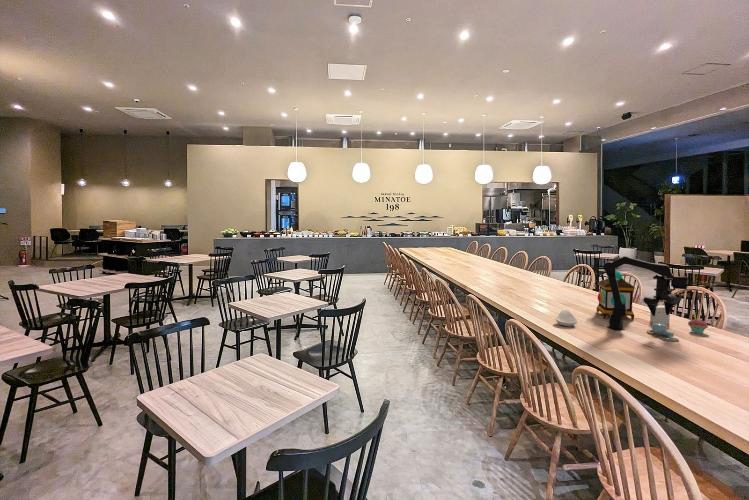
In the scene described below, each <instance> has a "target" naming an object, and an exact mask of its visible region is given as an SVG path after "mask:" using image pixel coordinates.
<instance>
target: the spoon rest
mask: <svg viewBox="0 0 749 500" xmlns="http://www.w3.org/2000/svg"><path fill="white" fill-rule="evenodd" d="M555 321H556V323H557V324H559V325H561V326H562V325H563V327H573V326H575V325H576V324H577V323H578V319H577V318H576V317H575V316H574V315H573V314H572V313H571V311H569V309H563V308H562V309H561V311H560V312H559V313H558V315H557V316H556V317H555Z"/></svg>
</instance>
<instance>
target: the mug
mask: <svg viewBox="0 0 749 500" xmlns="http://www.w3.org/2000/svg"><path fill="white" fill-rule="evenodd" d="M651 330H652V332H651V333H654V334H661V335H667V336H669V337H674V336H675V335H674V332H672V331H669V330H668V324H662V323H651ZM674 338H675V337H674Z"/></svg>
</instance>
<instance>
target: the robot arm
mask: <svg viewBox="0 0 749 500" xmlns="http://www.w3.org/2000/svg"><path fill="white" fill-rule="evenodd" d="M625 264H626V265H630V266H633V267H637V268H641V269H645V270H649V271H650V272H653V273H655V275H653V276H652V279H653V280H656V283H655V286H656V287H655V288H653V291H655V295H653V297H651V296H646V297H645V296H644V297H643V303H644V304H646V306H647V307H648V309H649V311H650V313H652V315H653V316H655V313H656V307H657V306H658V305H659V303H660V302H661V303H664V304H663V305H664V306H665V311H666V315H669V313H670V314H671V311H672V309H673V307H674V306H676V305H678V304H681V301H682V294H680V293H675V294H674V293H672V290H671V289H670V287H672V288H673V289H675V290H676V289H677V290H688V277H687V276H679V275H678V276H677V275H676V276H675V275H674V273H672V272H671V271H672V270H671V267H670V266H669V265H668V264H665V263H656V262H654V263H653V262H648V261H644V260H641V259H638V258H637V259H636V258H632V257H630V256H627V255H623V256H622V257H620V258H617V259H615V260H613V261H611V260H608V261H606V262H605V263H604V265H603V269H604V272H605V274H606V275H607V278H609V282H610V286H611V290H612V295H613V299H614V311H612V312H611V314H610V315H609V317H608V318H609V320H608V321H609V322H608V326H606V328H608V329H611V330H613V331H621V330H625V328H624V326H623V325H624V320H623V317H625V315H626V311H627V307H626V302H625V303H623V302H622V300H621V296H620V291H619V287H618V283H617V279H616V271H617V268H619V267H622V266H623V265H625Z"/></svg>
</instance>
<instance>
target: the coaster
mask: <svg viewBox="0 0 749 500" xmlns="http://www.w3.org/2000/svg"><path fill="white" fill-rule="evenodd" d="M658 339H660V340H661V341H666V342H671V343H676V342H677V343H678V342H679V341H680V338H676V337H670V336H658Z"/></svg>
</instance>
